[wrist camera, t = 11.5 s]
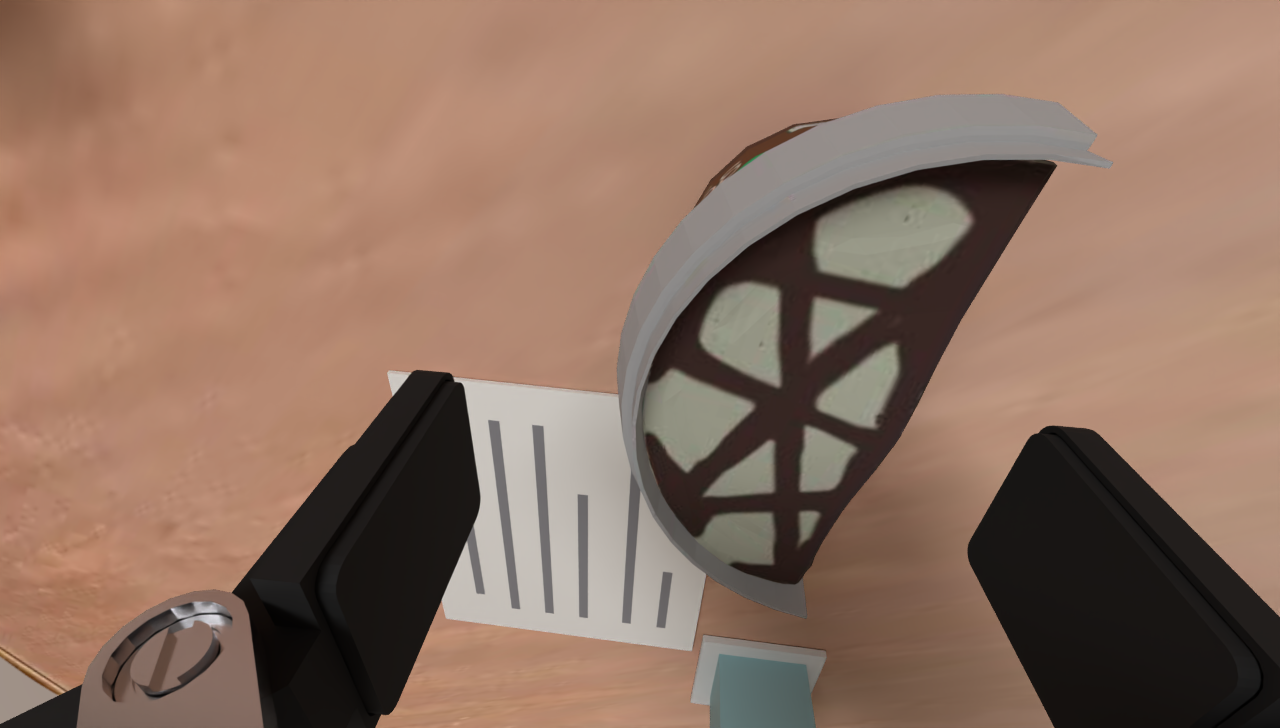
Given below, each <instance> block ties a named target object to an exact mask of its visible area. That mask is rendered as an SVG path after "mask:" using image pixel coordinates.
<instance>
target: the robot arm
mask: <svg viewBox="0 0 1280 728" xmlns="http://www.w3.org/2000/svg"><path fill="white" fill-rule="evenodd" d="M480 501H481V496H480V488H479V482H478V475H477V468H476V462H475V455H474V448H473V442H472V435H471V428H470V422H469V415H468V408H467V402H466V395H465V389H464V386H463V384H462V383H460V382H455V381H454V378H453V376H452V374H450V373H446V372H434V371H423V370H416V371H413V372H412V373H411V374H410V375H409V376H408V378H407V379H406V380H405V381H404V383H403V384H402V385H401V387H400V388H399V389H398V390H397V392H396V393H395V394H394V395H393V397H392V398H391V399H390V400H389V402H388V403H387V404H386V406H385V407H384V408H383V409H382V411H381V412H380V413H379V414H378V416H377V417H376V418H375V419H374V421H373V422H372V423H371V425H370V426H369V427H368V428H367V430H366V431H365V432H364V433H363V435H362V436H361V437H360V439H359V440H358V441H357V442H356V444H355V445H352V446H350V447H349V448H348V449H347V450H346V451H345V452H344V453H343V454H342V455H341V457H340V458H339V459H338V460H337V462H336V463H335V464H334V465H333V467H332V468H331V469H330V470H329V472H328V473H327V474H326V475H325V477H324V478H323V479H322V480H321V482H320V483H319V484H318V485H317V487H316V488H315V489H314V490H313V492H312V493H311V494H310V495H309V497H308V498H307V499H306V500H305V502H304V503H303V504H302V505H301V507H300V508H299V509H298V510H297V512H296V513H295V514H294V515H293V517H292V518H291V519H290V520H289V522H288V523H287V524H286V525H285V527H284V528H283V529H282V530H281V532H280V533H279V534H278V535H277V537H276V538H275V539H274V540H273V542H272V543H271V544H270V545H269V547H268V548H267V549H266V550H265V552H264V553H263V554H262V555H261V557H260V558H259V559H258V560H257V562H256V563H255V564H254V565H253V567H252V568H251V569H250V570H249V572H248V573H247V574H246V575H245V577H244V578H243V579H242V580H241V582H240V583H239V584H238V585H237V587H236V588H235V589H234V590H233V592H232V593H230V592H225V591H220V590H204V591H194V592H190V593H187V594H184V595H180V596H177V597H174V598H171V599H168V600H166V601H164V602H162V603H160V604H158V605H156V606H154V607H152V608H150V609H148V610H146V611H145V612H143V613H142V614H140V615H139V616H138V617H136V618H135V619H133V620H132V621H130V622H129V623H128V624H126V625H125V626H123V627H122V628H121V629H120V630H119V631H118V632H117V633H116V634H115V635H114V636H113V637H112V638H111V639H110V640H109V641H108V642H107V643H106V644H105V645H104V646H103V647H102V648H101V649H100V651H99V652H98V654H97V655H96V657H95V658H94V660H93V661H92V663H91V664H90V665H89V667H88V670H87V673H86V676H85V679H84V682H83V684H82V685H80V686H78V687H76V688H73V689H71V690H69V691H67V692H65V693H63V694H61V695H59V696H57V697H55V698H53V699H51V700H49V701H47V702H45V703H43V704H41V705H39V706H37V707H35V708H32V709H30V710H28V711H26V712H24V713H22V714H20V715H18V716H16V717H14V718H12V719H10V720H8V721H6V722H4V723H2V724H0V728H375V727H376V725H377V722H378V720H379V718H380V716H381V714H382V715H389V714H390V713H391V712H392V711H393V710H394V708H395V707H396V705H397V703H398V701H399V698H400V696H401V694H402V691H403V689H404V687H405V684H406V682H407V680H408V677H409V675H410V673H411V670H412V668H413V666H414V663H415V661H416V659H417V656H418V654H419V652H420V649H421V647H422V645H423V642H424V640H425V638H426V635H427V633H428V631H429V628H430V626H431V624H432V621H433V619H434V617H435V614H436V612H437V610H438V607H439V605H440V603H441V600H442V598H443V596H444V593H445V591H446V589H447V586H448V584H449V581H450V579H451V577H452V574H453V572H454V570H455V567H456V565H457V563H458V560H459V558H460V556H461V553H462V551H463V549H464V546H465V544H466V542H467V539H468V537H469V535H470V532H471V530H472V528H473V525H474V523H475V521H476V518H477V516H478V513H479V509H480ZM968 559H969V562H970V565H971V567H972V569H973V571H974V573H975V575H976V577H977V579H978V580H979V582H980V584H981V586H982V588H983V590H984V592H985V594H986V596H987V598H988V600H989V602H990V604H991V606H992V608H993V609H994V611H995V613H996V615H997V617H998V619H999V621H1000V623H1001V625H1002V627H1003V629H1004V631H1005V633H1006V635H1007V637H1008V638H1009V640H1010V642H1011V644H1012V646H1013V648H1014V650H1015V652H1016V654H1017V656H1018V658H1019V660H1020V662H1021V664H1022V666H1023V667H1024V669H1025V671H1026V673H1027V675H1028V677H1029V679H1030V681H1031V683H1032V685H1033V687H1034V689H1035V691H1036V693H1037V695H1038V696H1039V698H1040V700H1041V702H1042V704H1043V706H1044V708H1045V710H1046V712H1047V714H1048V716H1049V718H1050V720H1051V722H1052V724H1053V726H1054V727H1055V728H1280V617H1279V616H1278V615H1277V614H1276V613H1275V612H1274V611H1273V610H1272V609H1271V608H1270V607H1269V606H1268V605H1267V604H1266V603H1265V602H1264V601H1263V600H1262V599H1261V598H1260V597H1259V596H1258V595H1257V594H1256V593H1255V592H1254V591H1253V590H1252V589H1251V588H1250V587H1249V585H1248V584H1247V583H1246V582H1245V581H1244V580H1243V579H1242V578H1241V577H1240V576H1239V575H1238V574H1237V573H1236V572H1235V571H1234V570H1233V569H1232V568H1231V567H1230V566H1229V565H1228V564H1227V563H1226V562H1225V561H1224V560H1223V559H1222V558H1221V557H1220V556H1219V555H1218V554H1217V553H1216V552H1215V551H1214V550H1213V549H1212V548H1211V547H1210V546H1209V545H1208V544H1207V543H1206V542H1205V541H1204V540H1203V539H1202V538H1201V537H1200V536H1199V535H1198V534H1197V533H1196V532H1195V531H1194V530H1193V529H1192V528H1191V527H1190V526H1189V525H1188V524H1187V523H1186V522H1185V521H1184V520H1183V519H1182V518H1181V517H1180V516H1179V515H1178V514H1177V513H1176V512H1175V511H1174V510H1173V509H1172V508H1171V507H1170V506H1169V505H1168V504H1167V503H1166V502H1165V501H1164V500H1163V499H1162V498H1161V497H1160V496H1159V495H1158V494H1157V493H1156V492H1155V491H1154V490H1153V489H1152V488H1151V487H1150V486H1149V485H1148V484H1147V483H1146V482H1145V481H1144V480H1143V479H1142V477H1141V476H1140V475H1139V474H1138V473H1137V472H1136V471H1135V470H1134V469H1133V468H1132V467H1131V466H1130V465H1129V464H1128V463H1127V462H1126V461H1125V460H1124V459H1123V458H1122V457H1121V456H1120V455H1119V454H1118V453H1117V452H1116V451H1115V450H1114V449H1113V448H1112V447H1111V446H1110V445H1109V444H1108V443H1107V442H1106V441H1105V440H1104V439H1103V438H1102V437H1101V436H1100V435H1099V434H1097V433H1096V432H1095V431H1093V430H1090V429H1086V428H1074V427H1063V426H1047V427H1045V428H1043V429H1042V430H1041V431H1040V432H1039V433H1038V434H1034V435H1032V436H1031V437H1030V438H1029V439H1028V441H1027V442H1026V444H1025V446H1024V448H1023V449H1022V451H1021V453H1020V454H1019V456H1018V458H1017V460H1016V461H1015V463H1014V465H1013V467H1012V468H1011V470H1010V472H1009V474H1008V475H1007V477H1006V479H1005V481H1004V482H1003V484H1002V486H1001V488H1000V489H999V491H998V493H997V494H996V496H995V498H994V500H993V501H992V503H991V505H990V507H989V508H988V510H987V512H986V514H985V515H984V517H983V519H982V521H981V522H980V524H979V526H978V528H977V529H976V531H975V533H974V534H973V536H972V538H971V540H970V542H969V544H968Z"/></svg>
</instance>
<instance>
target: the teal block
mask: <svg viewBox="0 0 1280 728" xmlns="http://www.w3.org/2000/svg"><path fill="white" fill-rule="evenodd" d="M710 728H816V726H815V719H814V713H813V706H812V699H811V693H810V686H809V680H808V673H807V667H806V665H804V664H796V663H789V662H781V661H773V660H765V659H757V658H749V657H741V656H733V655H725V654H719V657H718V662H717V666H716V671H715V676H714V681H713V685H712V690H711V695H710Z"/></svg>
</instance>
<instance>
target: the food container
mask: <svg viewBox="0 0 1280 728" xmlns="http://www.w3.org/2000/svg"><path fill="white" fill-rule="evenodd" d="M1096 137H1097V134H1096V133H1095V132H1093V131H1092V130H1091V129H1090V128H1089V127H1087V126H1086V125H1085V124H1084V123H1082V122H1081V121H1080V120H1079V119H1078V118H1076V117H1075V116H1074V115H1073V114H1072V113H1070V112H1069V111H1068V110H1067V109H1065V108H1064V107H1063V106H1062V105H1061V104H1059V103H1058V102H1052V101H1045V100H1038V99H1032V98H1025V97H1018V96H1011V95H1005V94H968V95H936V96H930V97H924V98H918V99H913V100H907V101H901V102H895V103H890V104H884V105H878V106H875V107H872V108H869V109H866V110H863V111H860V112H857V113H854V114H851V115H848V116H844V117H841V118H837V119H830V120H823V121H816V122H809V123H802V124H794V125H792V126H790V127H787V128H785V129H783V130H781V131H779V132H777V133H775V134H773V135H771V136H769V137H766V138H764V139H762V140H760V141H758V142H756V143H754V144H752V145H750V146H747V147H746V148H745V149H744V150H743V151H742V152H741V153H739V154H738V155H737V156H736V157H735V158H734V159H733V160H732V161H731V162H730V163H729V164H727V165H726V166H725V167H724V168H723V169H722V170H721V171H720V172H719V173H718V174H717V175H715V176H714V177H713V178H712V179H711V180H710V182H709V184H708V185H707V187H706V189H705V190H704V192H703V194H702V195H701V197H700V199H699V200H698V202H697V204H696V205H695V207H694V209H693V210H692V211H691V212H690V213H689V214H688V215H687V216H686V217H685V218H684V219H682V221H681V222H680V223H679V225H678V226H677V227H676V229H675V230H674V231H673V232H672V234H671V235H670V236H669V238H668V239H667V240H666V242H665V243H664V244H663V246H662V247H661V248H660V250H659V251H658V252H657V253H656V255H655V256H654V257H653V259H652V261H651V263H650V265H649V267H648V269H647V271H646V273H645V274H644V276H643V278H642V280H641V282H640V284H639V286H638V288H637V290H636V292H635V293H634V295H633V298H632V301H631V304H630V308H629V311H628V314H627V317H626V320H625V323H624V326H623V329H622V333H621V340H620V347H619V355H618V363H617V381H618V398H619V408H620V417H621V425H622V434H623V440H624V444H625V448H626V452H627V456H628V460H629V464H630V468H631V471H632V473H633V475H634V477H635V480H636V482H637V484H638V486H639V488H640V490H641V493H642V495H643V497H644V499H645V501H646V503H647V505H648V508H649V510H650V512H651V514H652V516H653V518H654V519H655V521H656V522H657V524H658V525H659V526H660V528H661V529H662V531H663V532H664V533H665V535H666V536H667V538H668V539H669V540H670V542H671V543H672V544H673V545H674V546H675V547H676V548H677V549H678V550H679V551H680V552H681V553H682V554H683V555H684V556H685V557H686V558H687V559H688V560H689V561H690V562H691V563H692V564H693V565H695V566H696V567H697V568H699V569H700V570H701V571H703V572H704V573H705V574H707V575H708V576H709V577H711V578H712V579H713V580H715V581H716V582H718V583H719V584H721V585H723V586H725V587H727V588H728V589H730V590H732V591H734V592H736V593H737V594H739V595H741V596H743V597H745V598H747V599H749V600H752V601H754V602H757V603H759V604H762V605H764V606H767V607H769V608H772V609H774V610H777V611H781V612H784V613H788V614H791V615H795V616H798V617H802V618H805V619H806V618H807V610H806V601H805V593H804V584H803V576H804V574H805V572H806V571H807V570H808V569H809V568H810V567H811V566H812V563H813V560H814V557H815V555H816V553H817V551H818V549H819V547H820V546H821V544H822V542H823V540H824V539H825V537H826V536H827V534H828V533H829V531H830V529H831V528H832V526H833V525H834V523H835V522H836V520H837V519H838V517H839V516H840V514H841V513H842V511H843V510H844V508H845V507H846V506H847V504H848V503H849V502H850V500H851V499H852V498H853V497H854V496H855V494H856V493H857V492H858V491H859V490H860V488H861V487H862V486H863V485H864V483H865V482H866V481H867V480H868V479H869V477H870V476H871V475H872V474H873V473H874V471H875V470H876V469H877V468H878V466H879V465H880V464H881V462H882V461H883V460H884V458H885V457H886V456H887V454H888V453H889V452H890V450H891V449H892V448H893V447H894V445H895V444H896V442H897V441H898V439H899V438H900V436H901V434H902V432H903V431H904V429H905V427H906V425H907V423H908V421H909V420H910V418H911V416H912V414H913V412H914V410H915V409H916V407H917V405H918V403H919V401H920V399H921V397H922V395H923V393H924V391H925V389H926V387H927V385H928V383H929V381H930V379H931V377H932V375H933V372H934V370H935V368H936V366H937V364H938V362H939V361H940V359H941V357H942V355H943V353H944V351H945V349H946V347H947V346H948V344H949V342H950V340H951V338H952V336H953V334H954V332H955V331H956V329H957V327H958V325H959V323H960V321H961V319H962V318H963V316H964V314H965V313H966V311H967V310H968V308H969V306H970V305H971V303H972V301H973V300H974V298H975V297H976V295H977V293H978V292H979V290H980V288H981V287H982V285H983V284H984V282H985V280H986V279H987V277H988V275H989V274H990V272H991V271H992V269H993V267H994V266H995V264H996V263H997V261H998V259H999V258H1000V256H1001V254H1002V253H1003V251H1004V250H1005V248H1006V246H1007V245H1008V243H1009V241H1010V240H1011V238H1012V237H1013V235H1014V233H1015V232H1016V230H1017V229H1018V227H1019V225H1020V224H1021V222H1022V221H1023V219H1024V217H1025V216H1026V214H1027V213H1028V211H1029V209H1030V208H1031V206H1032V205H1033V203H1034V202H1035V200H1036V198H1037V197H1038V195H1039V194H1040V192H1041V190H1042V189H1043V187H1044V186H1045V184H1046V182H1047V181H1048V179H1049V178H1050V176H1051V174H1052V173H1053V171H1054V170H1055V168H1056V167H1057V165H1056V164H1055V163H1054V162H1051V161H1046V160H1055V161H1062V162H1069V163H1075V164H1082V165H1089V166H1096V167H1103V168H1110V167H1111V166H1112V164H1113V162H1112V161H1109V160H1107V159H1105V158H1102V157H1100V156H1098V155H1096V154H1093V153H1091V152H1089V151H1087V150H1088V149H1089V147H1090V146H1091V145H1092V143H1093V142H1094V140H1095V138H1096Z"/></svg>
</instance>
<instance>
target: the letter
mask: <svg viewBox="0 0 1280 728" xmlns="http://www.w3.org/2000/svg"><path fill="white" fill-rule="evenodd" d="M387 374H388V378H389V382H390V387H391V391H392V395H394V394H395V393H396V392H397V390H398V389H399V388H400V387H401V385H402V384H403V383H404V381H405V380H406V379H407V378H408V376H409V375H410V374H411V373H410V372H401V371H391V370H389V371H388V373H387ZM453 378H454V381H455V382H460V383H462V384H463V386H464V389H465V395H466V402H467V408H468V415H469V422H470V428H471V435H472V442H473V448H474V455H475V462H476V468H477V475H478V482H479V488H480V496H481V501H480V509H479V513H478V516H477V518H476V521H475V523H474V525H473V528H472V530H471V532H470V535H469V537H468V539H467V542H466V544H465V546H464V549H463V551H462V553H461V556H460V558H459V560H458V563H457V565H456V567H455V570H454V572H453V574H452V577H451V579H450V581H449V584H448V586H447V589H446V591H445V593H444V596H443V598H442V603H443V608H444V612H445V616H446V619H453V620H461V621H468V622H476V623H483V624H491V625H498V626H506V627H513V628H521V629H528V630H536V631H543V632H551V633H558V634H566V635H573V636H581V637H588V638H596V639H603V640H611V641H618V642H626V643H633V644H641V645H648V646H656V647H663V648H671V649H678V650H686V651H692V648H693V643H694V637H695V632H696V627H697V621H698V616H699V611H700V605H701V600H702V595H703V589H704V584H705V579H706V574H705V573H704V572H703V571H701V570H700V569H699V568H697V567H696V566H695V565H693V564H692V563H691V562H690V561H689V560H688V559H687V558H686V557H685V556H684V555H683V554H682V553H681V552H680V551H679V550H678V549H677V548H676V547H675V546H674V545H673V544H672V543H671V542H670V540H669V539H668V538H667V536H666V535H665V533H664V532H663V531H662V529H661V528H660V526H659V525H658V524H657V522H656V521H655V519H654V518H653V516H652V514H651V512H650V510H649V508H648V505H647V503H646V501H645V499H644V497H643V495H642V493H641V490H640V488H639V486H638V484H637V482H636V480H635V477H634V475H633V473H632V471H631V468H630V464H629V460H628V456H627V452H626V448H625V444H624V440H623V434H622V425H621V417H620V408H619V398H618V394H610V393H600V392H591V391H581V390H572V389H562V388H553V387H543V386H534V385H524V384H515V383H505V382H496V381H486V380H477V379H467V378H458V377H453Z"/></svg>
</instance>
